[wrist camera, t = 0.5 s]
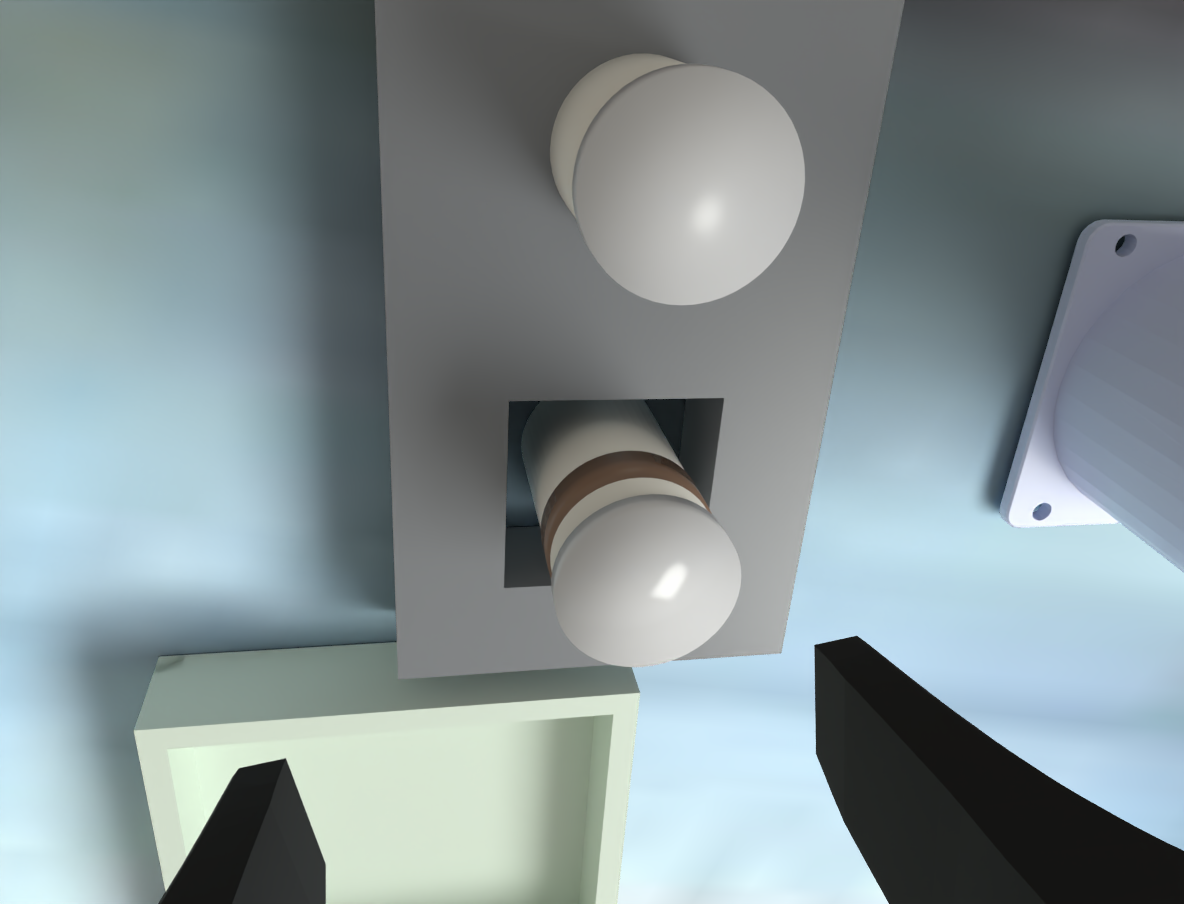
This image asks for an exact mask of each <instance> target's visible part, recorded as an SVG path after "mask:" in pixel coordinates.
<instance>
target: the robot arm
mask: <svg viewBox="0 0 1184 904" xmlns="http://www.w3.org/2000/svg"><path fill="white" fill-rule="evenodd" d="M1124 235H1125V242H1124V243H1123V245H1122V247H1121V248H1120V249H1118V250H1117V251H1115V247H1116V244H1117V242H1118V240H1119V239H1120V238H1121V237H1122V236H1124ZM1039 504H1042V505H1041V507H1040V508H1039V509H1038V510H1037V511H1035V512H1033V511H1034V509H1035V507H1037V506H1038V505H1039ZM999 513H1000V515H1001V518H1002V519H1003V520H1005V521H1006V522H1007V523H1008V524H1009V525H1011V526H1012V527H1016V528H1028V527H1050V526H1073V525H1095V524H1118V523H1121V524H1122V525H1123V526H1125V527H1126V528H1127V529H1128V530H1130V531H1131V532H1132V533H1134V534H1135V535H1136V536H1137V537H1139V538H1140V539H1141V540H1143V541H1144V542H1145V543H1146V544H1148V545H1149V546H1150V547H1152V548H1153V549H1154V550H1155V551H1157V552H1158V553H1159V554H1161V555H1162V556H1163V557H1164V558H1166V559H1167V560H1168V561H1170V562H1171V563H1172V564H1174V565H1175V566H1176V567H1177V568H1179V569H1180V570H1181V571H1183V572H1184V221H1146V220H1105V219H1103V220H1098V221H1095V222H1093V223H1091V224H1090V225H1088V226H1087V227H1086V228H1085V229H1084V230H1083V231H1082V232H1081V235H1080V237H1079V239H1078V241H1077V244H1076V248H1075V251H1074V255H1073V258H1072V261H1071V265H1070V268H1069V272H1068V275H1067V279H1066V282H1065V285H1064V289H1063V292H1062V296H1061V299H1060V302H1059V306H1058V309H1057V313H1056V316H1055V320H1054V323H1053V326H1052V330H1051V333H1050V337H1049V340H1048V344H1047V347H1046V350H1045V354H1044V357H1043V361H1042V364H1041V368H1040V371H1039V374H1038V378H1037V381H1036V385H1035V388H1034V392H1033V395H1032V398H1031V402H1030V405H1029V409H1028V412H1027V415H1026V419H1025V422H1024V426H1023V429H1022V433H1021V436H1020V439H1019V443H1018V446H1017V450H1016V453H1015V457H1014V460H1013V463H1012V467H1011V470H1010V474H1009V477H1008V481H1007V484H1006V487H1005V491H1004V494H1003V498H1002V501H1001V504H1000V512H999ZM815 712H816V755H817V757H818V760H819V762H820V765H821V767H822V770H823V772H824V775H825V777H826V780H827V782H828V785H829V787H830V790H831V792H832V795H833V797H834V799H835V802H836V804H837V806H838V809H839V811H840V813H841V816H842V818H843V821H844V823H845V825H846V826H847V828H848V830H849V832H850V834H851V836H852V838H853V839H854V841H855V843H856V845H857V847H858V848H859V850H860V852H861V854H862V856H863V858H864V859H865V861H866V863H867V865H868V867H869V868H870V870H871V872H872V874H873V876H874V878H875V879H876V881H877V883H878V885H879V886H880V888H881V890H882V892H883V894H884V895H885V897H886V899H887V901H888V903H889V904H1184V851H1183V850H1181V849H1179V848H1177V847H1175V846H1172V845H1170V844H1168V843H1166V842H1164V841H1162V840H1160V839H1158V838H1156V837H1154V836H1152V835H1150V834H1149V833H1147V832H1145V831H1143V830H1141V829H1139V828H1137V827H1135V826H1133V825H1131V824H1129V823H1128V822H1126V821H1124V820H1122V819H1120V818H1119V817H1117V816H1115V815H1113V814H1112V813H1110V812H1108V811H1106V810H1104V809H1103V808H1101V807H1099V806H1097V805H1096V804H1094V803H1092V802H1090V801H1088V800H1087V799H1085V798H1083V797H1081V796H1080V795H1078V794H1076V793H1074V792H1073V791H1071V790H1070V789H1068V788H1066V787H1065V786H1063V785H1061V784H1060V783H1058V782H1056V781H1055V780H1053V779H1052V778H1050V777H1048V776H1047V775H1045V774H1044V773H1042V772H1041V771H1039V770H1038V769H1036V768H1035V767H1033V766H1032V765H1030V764H1029V763H1027V762H1025V761H1024V760H1022V759H1021V758H1019V757H1018V756H1016V755H1015V754H1013V753H1012V752H1010V751H1009V750H1008V749H1006V748H1005V747H1003V746H1002V745H1000V744H999V743H997V742H996V741H995V740H993V739H992V738H990V737H989V736H988V735H986V734H985V733H983V732H982V731H981V730H979V729H978V728H977V727H975V726H974V725H972V724H971V723H970V722H968V721H967V720H965V719H964V718H963V717H961V716H960V715H959V714H957V713H956V712H954V711H953V710H952V709H950V708H949V707H948V706H946V705H945V704H944V703H942V702H941V701H940V700H938V699H937V698H936V697H935V696H933V695H932V694H931V693H929V692H928V691H927V690H926V689H924V688H923V687H922V686H920V685H919V684H918V683H917V682H915V681H914V680H913V679H911V678H910V677H909V676H908V675H906V674H905V673H904V672H903V671H901V670H900V669H899V668H898V667H896V666H895V665H894V664H892V663H891V662H890V661H889V660H887V659H886V658H885V657H884V656H882V655H881V654H880V653H879V652H877V651H876V650H875V649H874V648H872V647H871V646H870V645H869V644H867V643H866V642H865V641H863V640H862V639H861V638H859V637H858V636H854V637H849V638H845V639H840V640H835V641H831V642H826V643H821V644H817V645H815ZM159 904H326V863H325V861H324V858H323V855H322V853H321V850H320V847H319V845H318V842H317V839H316V837H315V834H314V831H313V829H312V826H311V823H310V821H309V818H308V815H307V813H306V810H305V807H304V805H303V802H302V800H301V797H300V794H299V792H298V789H297V786H296V784H295V781H294V778H293V776H292V773H291V770H290V768H289V765H288V762H287V760H286V758H284V759H280V760H275V761H270V762H266V763H261V764H256V765H252V766H247V767H242V768H239V769H238V770H237V771H236V773H235V774H234V775H233V777H232V778H231V780H230V782H229V784H228V785H227V787H226V789H225V791H224V793H223V794H222V796H221V798H220V800H219V801H218V803H217V805H216V807H215V809H214V810H213V812H212V814H211V816H210V817H209V819H208V821H207V823H206V825H205V826H204V828H203V830H202V832H201V833H200V835H199V837H198V839H197V840H196V842H195V844H194V845H193V847H192V849H191V851H190V852H189V854H188V856H187V857H186V859H185V861H184V863H183V864H182V866H181V868H180V869H179V871H178V873H177V874H176V876H175V877H174V879H173V881H172V882H171V884H170V886H169V887H168V889H167V890H166V892H165V894H164V895H163V897H162V899H161V900H160V902H159Z"/></svg>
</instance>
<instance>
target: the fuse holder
mask: <svg viewBox="0 0 1184 904" xmlns="http://www.w3.org/2000/svg"><path fill="white" fill-rule="evenodd" d="M374 1H375V29H376V58H377V87H378V115H379V144H380V173H381V202H382V230H383V259H384V288H385V316H386V345H387V374H388V403H389V431H390V460H391V489H392V517H393V546H394V575H395V603H396V632H397V661H398V679H413V678H428V677H442V676H457V675H471V674H486V673H501V672H515V671H530V670H545V669H559V668H574V667H588V666H603V665H611V664H607V663H604V662H601V661H598V660H596V659H594V658H592V657H590V656H588V655H586V654H585V653H583V652H582V651H580V650H579V649H578V648H577V647H576V646H575V645H574V644H573V643H572V642H571V641H570V640H569V639H568V637H567V636H566V635H565V633H564V631H563V630H562V628H561V626H560V623H559V620H558V618H557V614H556V610H555V606H554V602H553V597H552V591H551V577H550V574H549V570H548V566H547V562H546V558H545V554H544V550H543V546H542V541H541V528H540V526H532V527H507V528H506V493H507V455H508V418H509V401H555V400H622V399H686V403H685V411H684V420H683V428H682V437H681V446H680V454H679V461H680V463H681V465H682V467H683V469H684V470H685V471H686V472H687V474H688V475H689V476H690V477H691V478H692V480H693V481H694V483H695V485H696V486H697V488H698V490H699V492H700V493H701V495H702V497H703V499H704V500H705V502H706V504H707V505H708V507H709V509H710V511H711V513H712V515H713V516H714V517H715V518H716V519H717V520H718V521H719V522H720V523H721V525H722V527H723V528H724V530H725V531H726V533H727V535H728V537H729V538H730V540H731V542H732V543H733V545H734V547H735V549H736V552H737V554H738V557H739V561H740V565H741V587H740V591H739V595H738V598H737V601H736V603H735V606H734V608H733V610H732V612H731V614H730V615H729V617H728V618H727V620H726V621H725V623H724V624H723V625H722V627H721V628H720V629H719V630H718V631H717V632H716V633H715V634H714V635H713V636H712V637H711V638H710V639H709V640H707V641H706V642H705V643H704V644H702V645H701V646H699V647H698V648H697V649H695V650H693V651H691V652H690V653H688V654H686V655H684V656H682V657H679V658H677V659H675V660H672V661H676V660H691V659H705V658H720V657H734V656H749V655H764V654H778V653H781V651H782V646H783V641H784V636H785V630H786V625H787V620H788V615H789V609H790V604H791V599H792V593H793V588H794V583H795V578H796V572H797V567H798V562H799V556H800V551H801V546H802V541H803V535H804V530H805V525H806V519H807V514H808V509H809V504H810V498H811V493H812V488H813V482H814V477H815V472H816V467H817V461H818V456H819V451H820V446H821V440H822V435H823V430H824V424H825V419H826V414H827V409H828V403H829V398H830V393H831V387H832V382H833V377H834V372H835V366H836V361H837V356H838V350H839V345H840V340H841V335H842V329H843V324H844V319H845V313H846V308H847V303H848V298H849V292H850V287H851V282H852V277H853V271H854V266H855V261H856V255H857V250H858V245H859V240H860V234H861V229H862V224H863V218H864V213H865V208H866V203H867V197H868V192H869V187H870V181H871V176H872V171H873V166H874V160H875V155H876V150H877V144H878V139H879V134H880V129H881V123H882V118H883V113H884V108H885V102H886V97H887V92H888V86H889V81H890V76H891V71H892V65H893V60H894V55H895V49H896V44H897V39H898V34H899V28H900V23H901V18H902V12H903V7H904V2H905V0H374Z"/></svg>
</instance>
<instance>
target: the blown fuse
mask: <svg viewBox="0 0 1184 904" xmlns="http://www.w3.org/2000/svg"><path fill="white" fill-rule="evenodd" d="M521 450H522V457H523V462H524V466H525V470H526V474H527V477H528V481H529V485H530V489H531V493H532V497H533V501H534V505H535V509H536V513H537V517H538V521H539V524H540V528H541V541H542V546H543V550H544V554H545V558H546V562H547V566H548V570H549V574H550V577H551V591H552V597H553V602H554V606H555V610H556V614H557V618H558V620H559V623H560V626H561V628H562V630H563V631H564V633H565V635H566V636H567V637H568V639H569V640H570V641H571V642H572V643H573V644H574V645H575V646H576V647H577V648H578V649H579V650H580V651H582V652H583V653H585V654H586V655H588V656H590V657H592V658H594V659H596V660H598V661H601V662H604V663H607V664H611V665H616V666H623V667H645V666H653V665H658V664H662V663H666V662H669V661H672V660H675V659H677V658H679V657H682V656H684V655H686V654H688V653H690V652H691V651H693V650H695V649H697V648H698V647H699V646H701V645H702V644H704V643H705V642H706V641H707V640H709V639H710V638H711V637H712V636H713V635H714V634H715V633H716V632H717V631H718V630H719V629H720V628H721V627H722V625H723V624H724V623H725V621H726V620H727V618H728V617H729V615H730V614H731V612H732V610H733V608H734V606H735V603H736V601H737V598H738V595H739V591H740V587H741V565H740V561H739V557H738V554H737V552H736V549H735V547H734V545H733V543H732V542H731V540H730V538H729V537H728V535H727V533H726V531H725V530H724V528H723V527H722V525H721V523H720V522H719V521H718V520H717V519H716V518H715V517H714V516H713V515H712V513H711V511H710V509H709V507H708V505H707V504H706V502H705V500H704V499H703V497H702V495H701V493H700V492H699V490H698V488H697V486H696V485H695V483H694V481H693V480H692V478H691V477H690V476H689V475H688V474H687V472H686V471H685V470H684V469H683V467H682V465H681V463H680V461H679V460H678V458H677V456H676V454H675V453H674V451H673V449H672V447H671V446H670V444H669V442H668V440H667V439H666V437H665V435H664V433H663V432H662V430H661V428H660V426H659V424H658V423H657V421H656V419H655V417H654V416H653V414H652V412H651V410H650V409H649V407H648V406H647V404H646V403H645V401H644V400H643V399H622V400H555V401H541V402H540V403H539V404H538V405H537V406H536V407H535V409H534V410H533V411H532V413H531V415H530V416H529V418H528V420H527V422H526V425H525V427H524V431H523V435H522V442H521Z"/></svg>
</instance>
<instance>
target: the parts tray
mask: <svg viewBox="0 0 1184 904" xmlns="http://www.w3.org/2000/svg"><path fill="white" fill-rule="evenodd" d="M639 698H640V691H639V688H638V685H637V682H636V679H635V676H634V673H633V670H632V667H623V666H616V665H603V666H588V667H574V668H559V669H545V670H530V671H515V672H501V673H486V674H471V675H457V676H442V677H428V678H413V679H398V661H397V642H389V643H373V644H357V645H340V646H324V647H308V648H291V649H275V650H259V651H242V652H226V653H210V654H193V655H177V656H160V657H159V658H158V661H157V664H156V667H155V670H154V673H153V675H152V678H151V681H150V684H149V687H148V690H147V693H146V696H145V699H144V702H143V705H142V708H141V711H140V714H139V716H138V719H137V722H136V725H135V728H134V735H135V740H136V745H137V750H138V755H139V760H140V765H141V770H142V775H143V780H144V785H145V791H146V796H147V801H148V806H149V811H150V816H151V821H152V826H153V831H154V836H155V841H156V846H157V851H158V856H159V861H160V866H161V871H162V877H163V882H164V887H165V892H166V890H167V889H168V887H169V886H170V884H171V882H172V881H173V879H174V877H175V876H176V874H177V873H178V871H179V869H180V868H181V866H182V864H183V863H184V861H185V859H186V857H187V856H188V854H189V852H190V851H191V849H192V847H193V845H194V844H195V842H196V840H197V839H198V837H199V835H200V833H201V832H202V830H203V828H204V826H205V825H206V823H207V821H208V819H209V817H210V816H211V814H212V812H213V810H214V809H215V807H216V805H217V803H218V801H219V800H220V798H221V796H222V794H223V793H224V791H225V789H226V787H227V785H228V784H229V782H230V780H231V778H232V777H233V775H234V774H235V773H236V771H237V770H238V769H239V768H242V767H247V766H252V765H256V764H261V763H266V762H270V761H275V760H280V759H284V758H286V760H287V762H288V765H289V768H290V770H291V773H292V776H293V778H294V781H295V784H296V786H297V789H298V792H299V794H300V797H301V800H302V802H303V805H304V807H305V810H306V813H307V815H308V818H309V821H310V823H311V826H312V829H313V831H314V834H315V837H316V839H317V842H318V845H319V847H320V850H321V853H322V855H323V858H324V861H325V863H326V904H617V899H618V890H619V880H620V871H621V862H622V853H623V844H624V835H625V826H626V817H627V807H628V798H629V789H630V780H631V771H632V762H633V753H634V743H635V734H636V725H637V716H638V707H639Z"/></svg>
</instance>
